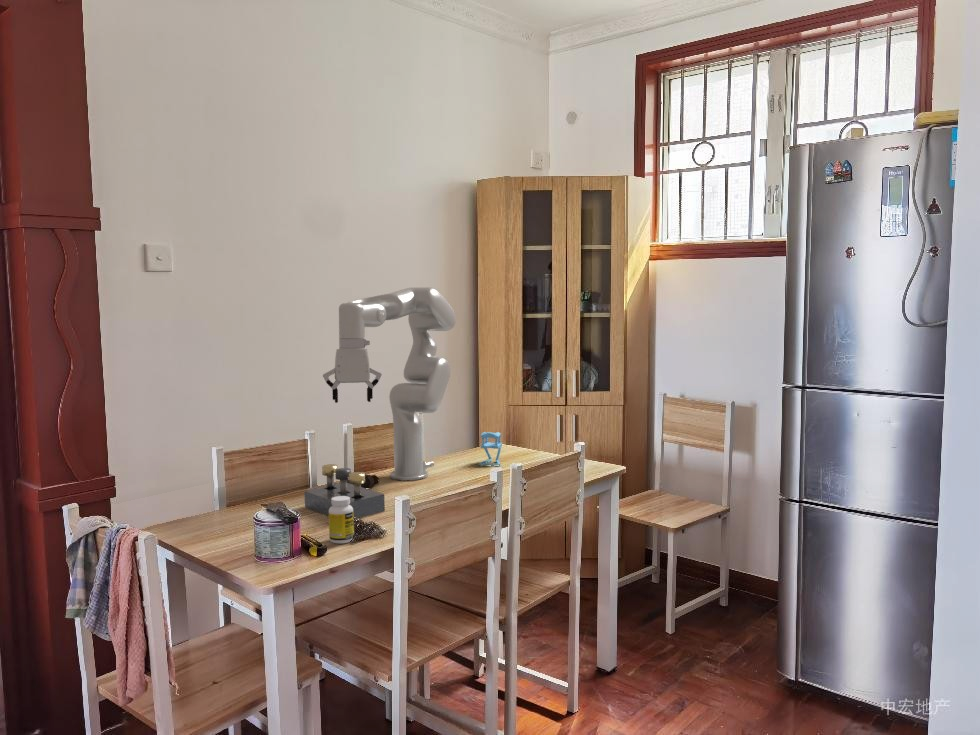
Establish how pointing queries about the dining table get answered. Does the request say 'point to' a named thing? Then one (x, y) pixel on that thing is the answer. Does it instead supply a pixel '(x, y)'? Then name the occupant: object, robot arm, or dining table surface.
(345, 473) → the knob middle
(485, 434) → the chair
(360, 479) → the knob
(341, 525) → the pill bottle
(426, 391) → the robot arm
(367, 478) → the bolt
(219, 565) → the dining table surface
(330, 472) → the knob
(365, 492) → the mount
